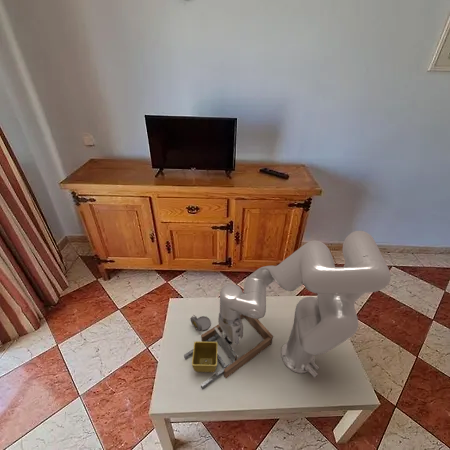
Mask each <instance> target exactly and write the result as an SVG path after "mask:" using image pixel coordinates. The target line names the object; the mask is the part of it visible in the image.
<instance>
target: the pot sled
mask: <svg viewBox="0 0 450 450" xmlns="http://www.w3.org/2000/svg"><path fill="white" fill-rule="evenodd" d="M214 327H215V326H214ZM205 342H218V346H219V347H221V349H222V350H223V352H224V353H225V355H226V356H227V358H228V359H229V361H230V362H229V363H228V364H226V363H225V361H224V360H223V358H222V357H221V356H220V354H219V353H218V352H217V362H218V364H220V366H221V367H222V368H221V369H219V371H217V372H216V373H215V374H213V375H212V376H210V377H208V378H207V380H205V381H203V382H202V383H201V384H200V388H201V389H202V390H204V389H205V388H207V387H208V386H209V385H210V384H212V383H214V382H215V381H216V380H217V379H219V378H220V377H221V376H224V369H225V368H226V367H228V366H229V365H231V364H232V363H233V362H235V361H236V360H237V359H238V354H237V353H236V351H235V350H234V348H233V347H232V346H231V345H230V344H229V343H228V342H227V341H226V339H225V336H224V334H222V333H221V332H220V331H219V330H218V328H217V327H215V328H214V336H213V337H211V338H209V339H208V340H206V341H205ZM193 349H194V348H192V349H191V350H190V351H187V352H186V353H184V354H183V357H184V360H187V359H188V358H191V357H193Z"/></svg>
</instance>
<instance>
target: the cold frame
mask: <svg viewBox="0 0 450 450" xmlns="http://www.w3.org/2000/svg"><path fill="white" fill-rule="evenodd" d="M243 319H246V321H247V322H248V323H249V324H250V326H251V327H252V328H254V330H255V331H256V332H257V334H258V335H259V336H260V337H261V338H262V339H263V340H262V341H260V343H258V344H256V345H255V346H254V347H252V348H251V349H250V350H248V351H247V352H246V353H244V354H242V356H240V357H239V358H237V360H236V361H235V362H233V363H232V364H231V365H229V366H228V367H226V368H225V369H224V374H223V377H224V378H225V379H227V378H228V377H230V376H232V375H233V374H234V373H235V372H237V371H238V370H239V369H241V368H242V367H243V366H245V365H247V363H249V362H250V361H251V360H252V359H254V358H255V357H257V356H258V355H259V354H260V353H262V352H263V351H264V350H266V349H267V348H269V347H270V346H271V345H272V343H273V339H274V335H273V334H272V333H271V332H270V331H269V330H268V329H267V328H266V326H265V325H264V324H263V323H262V322H261V321H260V319H254V318H251V317H248V316H245V315H243V314H241V320H242V321H243ZM215 327H217V328H218V330H219V331H220V332H221V334H222V333H224V332H223V330H222V329H221V327H220V326H219V323H218V324H217V325H215V326H213V327H212V328H209V330H207V331H205V332H203V333H202V334H201V335H200V342H205V341H206V340H208V339H209V338H211V337H213V336H214V328H215Z"/></svg>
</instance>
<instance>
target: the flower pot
mask: <svg viewBox="0 0 450 450" xmlns="http://www.w3.org/2000/svg"><path fill="white" fill-rule="evenodd" d="M218 346H219V343H218V342H217V341H213V342H202V341H201V340H200V341H193V348H192V349H193V355H192V358H191V359H192V360H191V366H192V368H193V370H194V371H195V372H196V373H215V372H216V370H217V367H218V360H217V353H218V348H219V347H218Z"/></svg>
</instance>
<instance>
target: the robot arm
mask: <svg viewBox="0 0 450 450" xmlns="http://www.w3.org/2000/svg"><path fill="white" fill-rule="evenodd" d="M342 255H343V259H344V265H343V266H336V265H335V261H334V258H333V255H332V252H331V250H330V248H329V247H328V246H327V245H326V244H325V243H324V242H322V241H320V240H315V239H313V240H310V241H307V242H306V243H304V244H303V245H302V246H300V247H299V248H298V249H296V250H295V251H294V252H292V253H291V254H290V255H288V256H287V257H286V258H285V259H283V260H282V261H281V262H280V263H279V264H277V265H266V266H265V265H264V266H261V267H259V268H257V269H256V270H255V271H254V272H252V273H251V274H250V275H249V276H248V277H247V278H246V279H245V281H244V285H243V290H242V288H241V287H240V286H239V285H238V284H235V283H228V284H225V285H224V286H222V287H221V289H220V291H219V313H218V317H217V318H218V321H217V322H218V324H219V326H220V327H221V329H222V330H223V332H222V333H223V336H224V338H225V339H226V341H227V342H228V343H229V345H230V346H231V345H232V344H235V345H236V346H238V345H240V339H243V338H244V325H243V319H242V320H241V314H243V315H245V316H248V317H251V318H254V319H258V320H260V319H262V318H263V317H265V315H266V312H267V287H268V286H269V285H271V284H272V283H273V282H275V283H277V286H279V287H280V288H281V289H283V290H284V291H288V292H294V291H296V290H297V289H298V288H300V287H301V286H304V287H305V289H306V290H307V291H308V292H311V293H314V294H317V297H314V296H305V297H303V298H302V299H300V300H299V301H298V302H297V304H296V306H295V310H294V317H293V324H292V327H291V330H290V334H289V338H288V341H286V342H284V344H283V345H282V347H281V352H280V355H281V359H282V362H283V363H284V365H285V366H286V367H287V368H288V370H290V371H292V372H294V373H297V374H305V373H306V374H307V373H308V372H309V374H311V376H312V377H313V378H316V377H317V376H318V375H319V373H318V372H317V371H318V370H319V369H320V367H319V366H318V365H317V364H316V363H315V361H316V359H315V357H316V355H317V356H319V355H323V354H325V353H328V352H330V351H331V350H333V349H335V348H336V347H338V346H339V345H341V344H342V343H344V342H346V341H347V340H350V339H351V338H352V337H354V335H355V334H356V333H357V331H358V328H359V318H358V314H357V312H356V308H355V303H356V302H357V301H358V300H359V299H360V298H361V297H362V296H363V295H364V294H368V293H369V294H370V293H375V292H379V291H381V290H383V289H385V288H387V287H388V285H389V284H390V283H391V280H392V276H391V271H390V269H389V266H388V264H387V262H386V260H385V259H384V257H383V255H382V253H381V250H380V249H379V246H378V245H377V242H376V240H375V239H374V237H373V236H372V235H371V234H370V233H368V232H367V231H363V230H355V231H352V232H350V233H349V234H348V235H347V236H346V237H345V239H344V240H343V244H342Z"/></svg>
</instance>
